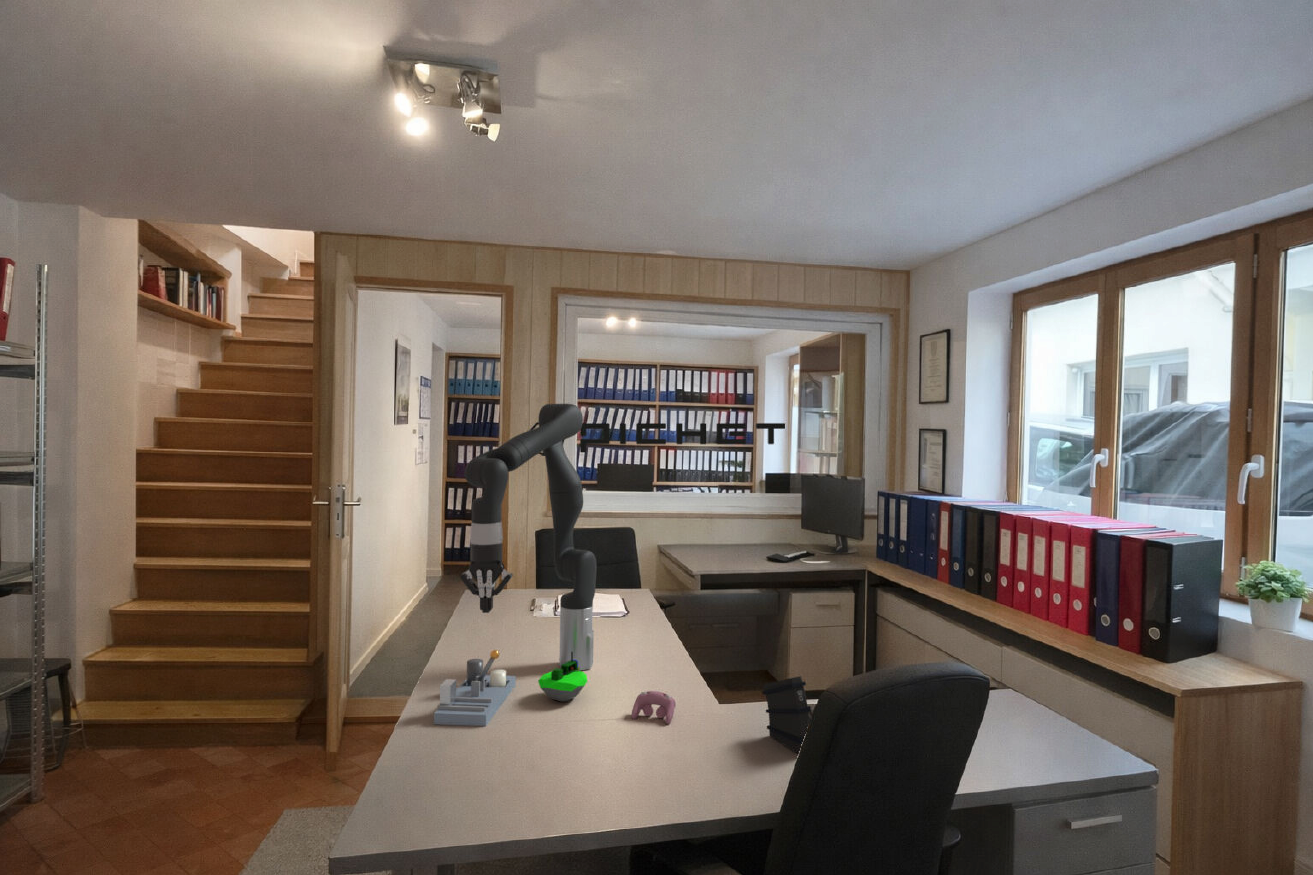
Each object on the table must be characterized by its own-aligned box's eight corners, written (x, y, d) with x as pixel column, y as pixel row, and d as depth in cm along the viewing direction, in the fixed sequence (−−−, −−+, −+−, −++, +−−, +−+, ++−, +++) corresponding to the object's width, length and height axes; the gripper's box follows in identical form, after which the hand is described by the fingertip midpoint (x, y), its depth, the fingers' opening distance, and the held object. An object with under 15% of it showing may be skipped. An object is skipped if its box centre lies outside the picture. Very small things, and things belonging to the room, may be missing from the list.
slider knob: (456, 700, 167) (456, 679, 167) (450, 707, 163) (450, 685, 163) (446, 700, 167) (446, 679, 167) (439, 706, 163) (440, 685, 163)
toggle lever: (481, 686, 174) (502, 651, 174) (478, 689, 172) (499, 654, 171) (474, 681, 174) (494, 646, 174) (470, 685, 172) (491, 649, 171)
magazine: (808, 754, 144) (789, 678, 150) (772, 757, 155) (756, 686, 160) (823, 750, 146) (803, 675, 152) (786, 754, 157) (769, 684, 162)
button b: (484, 679, 182) (485, 658, 182) (480, 684, 178) (480, 663, 178) (469, 678, 182) (469, 658, 182) (464, 683, 178) (464, 663, 178)
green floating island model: (556, 688, 185) (556, 645, 185) (595, 695, 179) (595, 651, 180) (529, 703, 174) (529, 658, 174) (569, 711, 169) (569, 664, 169)
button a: (507, 689, 182) (507, 669, 182) (503, 695, 178) (503, 674, 178) (492, 689, 182) (492, 669, 182) (487, 695, 178) (488, 674, 178)
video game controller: (674, 726, 165) (678, 694, 168) (669, 724, 161) (674, 692, 164) (634, 720, 168) (639, 689, 171) (629, 718, 164) (634, 686, 167)
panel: (515, 685, 186) (515, 662, 186) (485, 726, 160) (486, 699, 160) (470, 683, 186) (470, 661, 186) (433, 724, 160) (434, 697, 160)
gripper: (454, 543, 167) (454, 615, 168) (509, 543, 167) (509, 616, 167) (464, 537, 175) (464, 607, 175) (517, 538, 174) (517, 608, 174)
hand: (486, 611), depth 171 cm, fingers closed
